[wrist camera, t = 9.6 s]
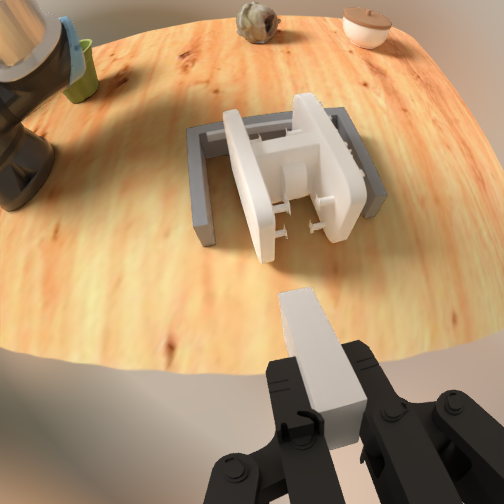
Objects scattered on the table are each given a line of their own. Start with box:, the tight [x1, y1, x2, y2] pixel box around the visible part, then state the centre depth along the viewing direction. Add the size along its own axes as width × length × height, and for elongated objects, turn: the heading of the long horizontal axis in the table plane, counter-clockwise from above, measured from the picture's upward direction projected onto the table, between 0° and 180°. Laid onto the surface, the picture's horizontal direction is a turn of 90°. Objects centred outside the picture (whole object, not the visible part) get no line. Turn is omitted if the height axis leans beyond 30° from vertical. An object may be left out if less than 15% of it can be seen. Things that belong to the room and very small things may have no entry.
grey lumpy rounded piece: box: [236, 2, 281, 43], centre depth 49 cm, size 9×8×10 cm
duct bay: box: [186, 107, 387, 247], centre depth 35 cm, size 14×21×5 cm
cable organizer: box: [223, 92, 367, 264], centre depth 31 cm, size 15×11×12 cm
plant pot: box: [62, 39, 99, 103], centre depth 45 cm, size 12×12×11 cm
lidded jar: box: [343, 7, 392, 49], centre depth 47 cm, size 11×11×9 cm
